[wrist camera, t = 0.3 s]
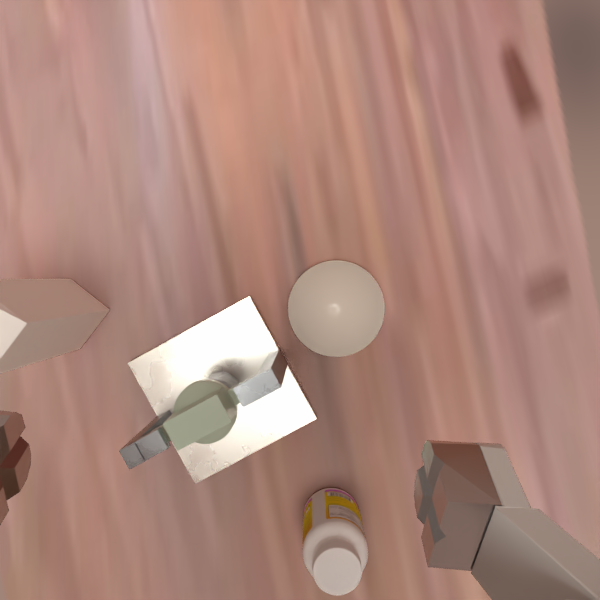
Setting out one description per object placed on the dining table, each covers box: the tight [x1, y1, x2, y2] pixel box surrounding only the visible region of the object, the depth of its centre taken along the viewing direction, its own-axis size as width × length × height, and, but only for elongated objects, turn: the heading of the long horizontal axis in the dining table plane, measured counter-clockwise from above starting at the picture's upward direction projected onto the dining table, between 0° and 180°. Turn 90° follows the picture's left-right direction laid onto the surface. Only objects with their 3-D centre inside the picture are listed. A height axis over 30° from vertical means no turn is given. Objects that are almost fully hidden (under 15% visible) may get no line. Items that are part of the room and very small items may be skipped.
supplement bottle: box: [303, 488, 368, 595], centre depth 58 cm, size 7×7×13 cm
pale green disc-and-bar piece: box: [151, 375, 254, 451], centre depth 52 cm, size 6×11×5 cm, turn 119°
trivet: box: [288, 260, 385, 357], centre depth 63 cm, size 11×11×1 cm
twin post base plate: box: [119, 296, 317, 484], centre depth 57 cm, size 16×16×14 cm
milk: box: [0, 279, 110, 374], centre depth 53 cm, size 6×6×22 cm
